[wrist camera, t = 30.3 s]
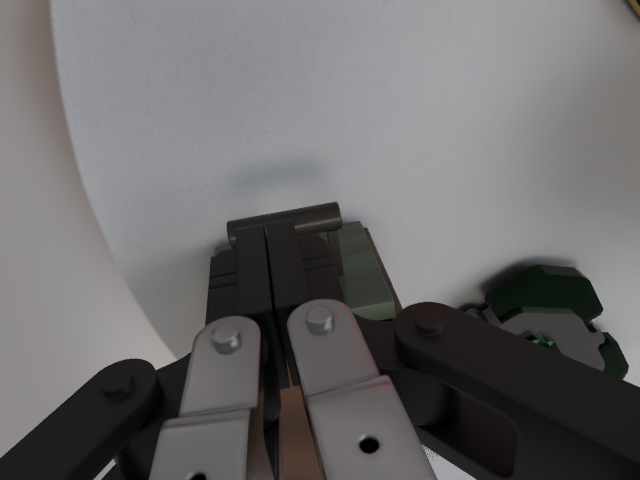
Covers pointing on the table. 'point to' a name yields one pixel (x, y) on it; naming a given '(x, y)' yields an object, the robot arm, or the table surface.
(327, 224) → the drawer
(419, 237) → the table surface
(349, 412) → the robot arm
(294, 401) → the cabinet
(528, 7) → the table surface
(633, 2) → the smartphone
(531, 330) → the flat green button pad
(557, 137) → the table surface
